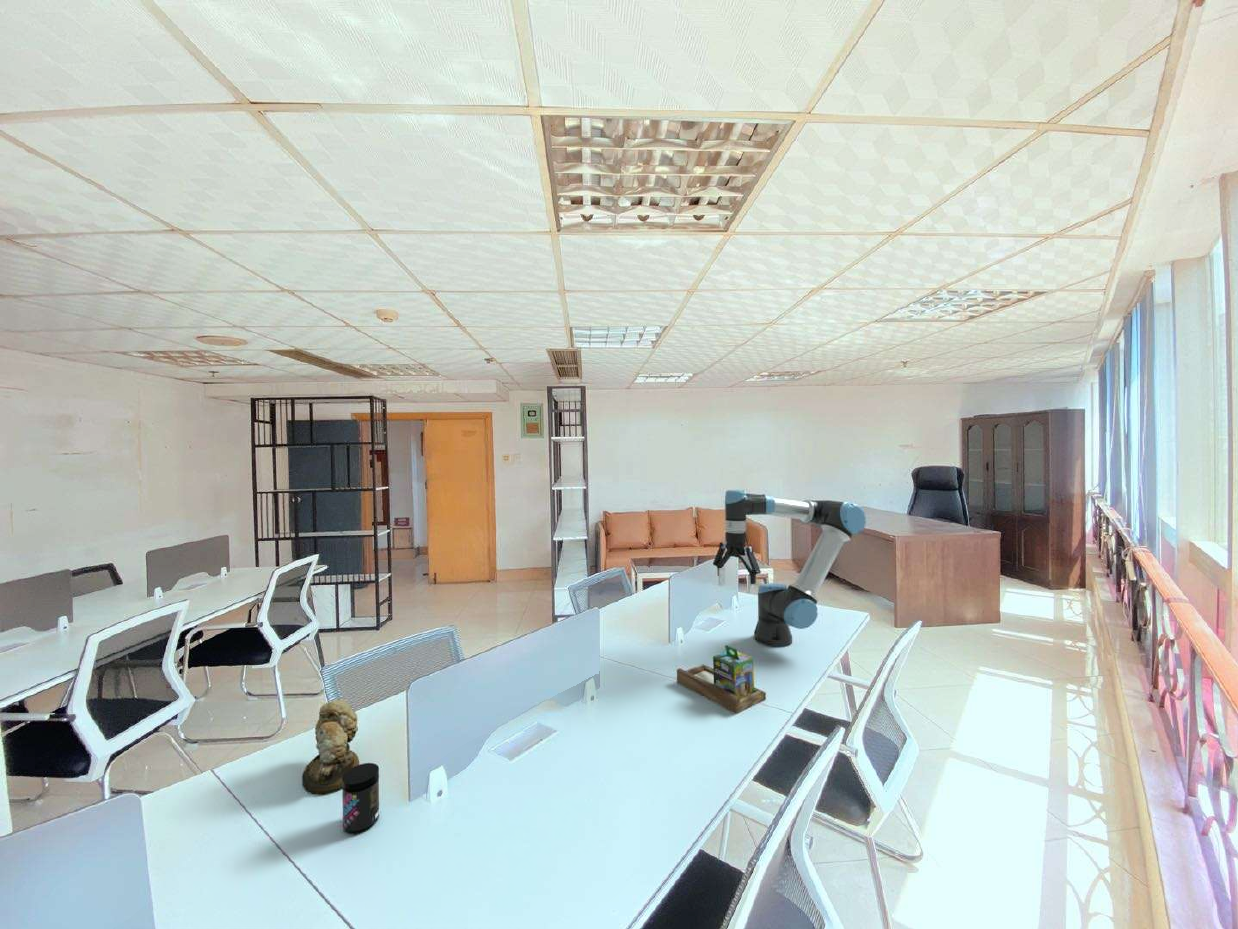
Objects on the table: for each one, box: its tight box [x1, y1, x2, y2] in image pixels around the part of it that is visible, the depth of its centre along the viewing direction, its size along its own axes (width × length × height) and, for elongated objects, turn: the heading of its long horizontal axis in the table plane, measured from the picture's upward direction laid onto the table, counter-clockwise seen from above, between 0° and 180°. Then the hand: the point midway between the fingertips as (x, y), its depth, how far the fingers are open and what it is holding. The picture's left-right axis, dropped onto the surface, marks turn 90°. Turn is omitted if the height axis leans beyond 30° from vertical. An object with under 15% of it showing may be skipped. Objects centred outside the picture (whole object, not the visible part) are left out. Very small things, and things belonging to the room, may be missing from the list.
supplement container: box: [341, 762, 380, 835], centre depth 99 cm, size 7×7×10 cm
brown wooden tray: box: [676, 664, 767, 715], centre depth 154 cm, size 14×25×4 cm, turn 37°
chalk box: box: [712, 644, 755, 699], centre depth 150 cm, size 9×9×15 cm
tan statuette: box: [301, 699, 360, 796], centre depth 115 cm, size 18×12×17 cm, turn 36°
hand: (736, 588), depth 178 cm, fingers open, 13 cm apart
